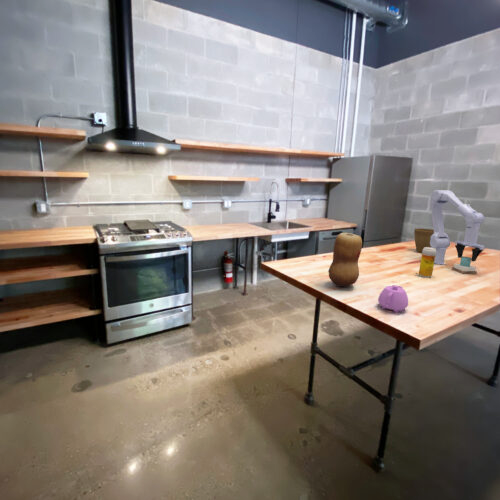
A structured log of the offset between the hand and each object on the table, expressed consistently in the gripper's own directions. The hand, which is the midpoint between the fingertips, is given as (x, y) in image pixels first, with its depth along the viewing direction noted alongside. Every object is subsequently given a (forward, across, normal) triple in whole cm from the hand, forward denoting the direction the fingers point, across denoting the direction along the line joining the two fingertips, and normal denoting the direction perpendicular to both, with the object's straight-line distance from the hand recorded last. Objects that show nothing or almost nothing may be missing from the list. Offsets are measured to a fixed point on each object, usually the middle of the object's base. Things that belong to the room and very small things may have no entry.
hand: (466, 259), depth 164 cm
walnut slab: (+8, 0, 0) cm, 8 cm away
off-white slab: (+6, 0, 0) cm, 6 cm away
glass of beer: (+7, 0, -28) cm, 29 cm away
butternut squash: (+7, +1, -81) cm, 81 cm away
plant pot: (+7, -42, +16) cm, 45 cm away
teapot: (+8, +28, -76) cm, 81 cm away
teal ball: (+3, 0, 0) cm, 4 cm away
